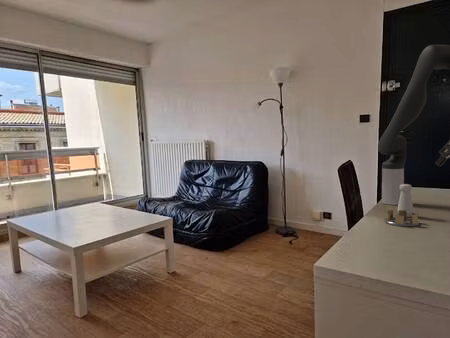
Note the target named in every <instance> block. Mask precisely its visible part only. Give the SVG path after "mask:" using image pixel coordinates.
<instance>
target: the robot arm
mask: <svg viewBox="0 0 450 338" xmlns="http://www.w3.org/2000/svg"><path fill="white" fill-rule="evenodd" d="M433 70H450V45H449V44H430V45H427V46H426V47H425V48H424V49H423V50H422V52H421V53H420V55H419V57H418V60H417V62H416V66H415V68H414V71H413V74H412V76H411V79H410V80H409V83H408V85H407V87H406V90H405V92H404V94H403V95H402V98H401V100H400V101H399V104H398V106H397V108H396V110H395V113H394V114H393V116H392V118H391V120H390V122H389V124H388V126H387V128H386V129H385V130H384V132H383V134H382V135H381V137H380V139H379V140H378V143H377V146H378V147H377V148H378V149H377V150H378V152H379V153H380V154H381V155H386V156H387V155H388V156H389V155H390V157H389V158H388V159H387V160H386V161H385V160H384V162H382V165H381V203H382V204H384V205H393V206H398V204H399V199H400V194H401V190H400V185H402V184H405V172H404V171H405V164H406V160H407V148H408V147H407V146H408V145H407V140H406V137H404V136H403V135H400V134H401V132H402V131H403V130H404V129H406V127H408V126H409V125H411V123H413V122H414V121H415V120H416V119H417V118H418V117H419V116H420V114H421V112H422V111H423V109H424V107H425V106H426V105H425V104H426V103H427V83H428V80H429V78H430V76H431V74H432V73H433ZM438 153H439V154H440V157H439V158H438V159H437V160H436V161H435V162H434V164H435V165H436V166H438V167H442V166H443V165H444V164H445V162H446V161H447V160H448V159H449V158H450V139H449V140H448V141H447V142H446V143H445V145H443V147H442V148H441V149H440V150H439V151H438Z"/></svg>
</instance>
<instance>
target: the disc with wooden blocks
mask: <svg viewBox="0 0 450 338" xmlns="http://www.w3.org/2000/svg"><path fill="white" fill-rule="evenodd" d="M384 213H385V214H384V223H385V224H386V225H390V226H395V227H401V228H407V227H408V228H414V227H418V226H419V223H420V222H419V214H418V213H417V212H415V211H414V212H412V216H410V217H407V211H406V210H399V213H398V214H395V217H394V210H393V209H391V210H386V211H385V212H384Z"/></svg>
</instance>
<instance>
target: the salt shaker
mask: <svg viewBox="0 0 450 338" xmlns="http://www.w3.org/2000/svg"><path fill="white" fill-rule="evenodd" d="M412 188H413V187H412V185H411V184H408V183H404V184H402V185H400V190H401V194H400V199H399V204H398V205H397V213H398V214H399V210H406V211H407V218H410V216H412V212H415V210H414V204H413V200H412V193H411V191H412V190H413V189H412Z"/></svg>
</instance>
